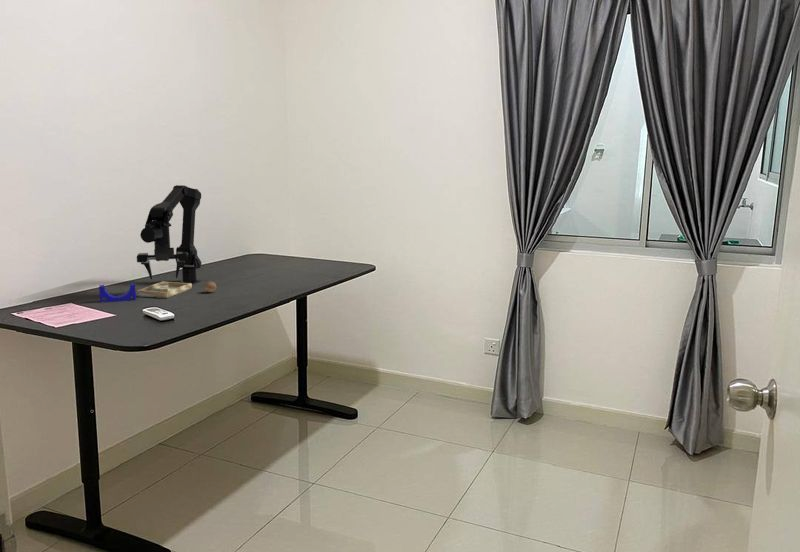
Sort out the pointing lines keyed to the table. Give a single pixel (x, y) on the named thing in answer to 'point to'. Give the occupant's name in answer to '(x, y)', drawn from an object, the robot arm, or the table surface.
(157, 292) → the tray
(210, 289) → the bead
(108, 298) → the cable clip
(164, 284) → the tall beige post
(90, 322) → the table surface
